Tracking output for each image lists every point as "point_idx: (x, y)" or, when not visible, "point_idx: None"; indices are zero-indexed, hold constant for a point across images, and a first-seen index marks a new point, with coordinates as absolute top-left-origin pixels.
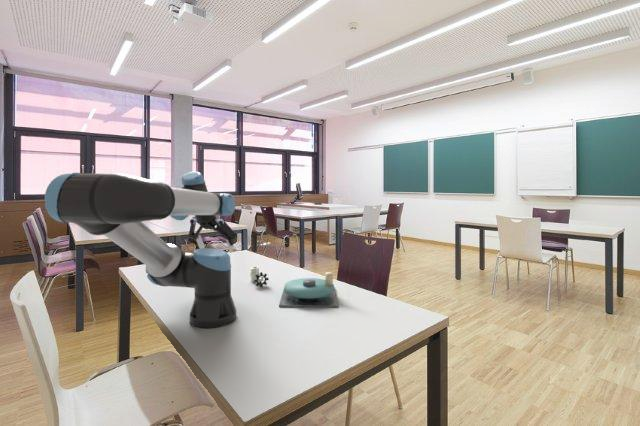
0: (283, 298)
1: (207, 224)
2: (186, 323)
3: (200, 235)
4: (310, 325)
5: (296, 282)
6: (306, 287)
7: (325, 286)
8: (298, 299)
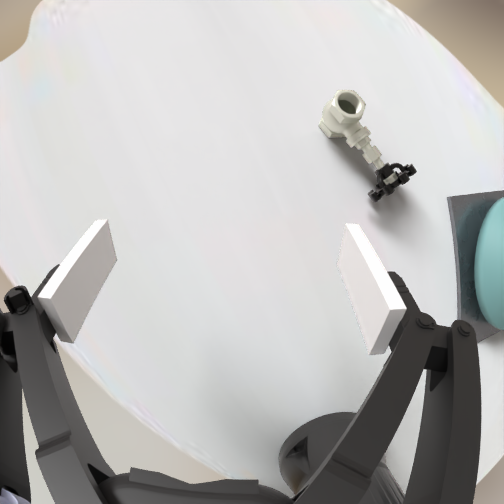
0: (465, 303)
1: None
2: (281, 478)
3: (52, 297)
4: (493, 402)
5: (502, 246)
6: None
7: None
8: None
